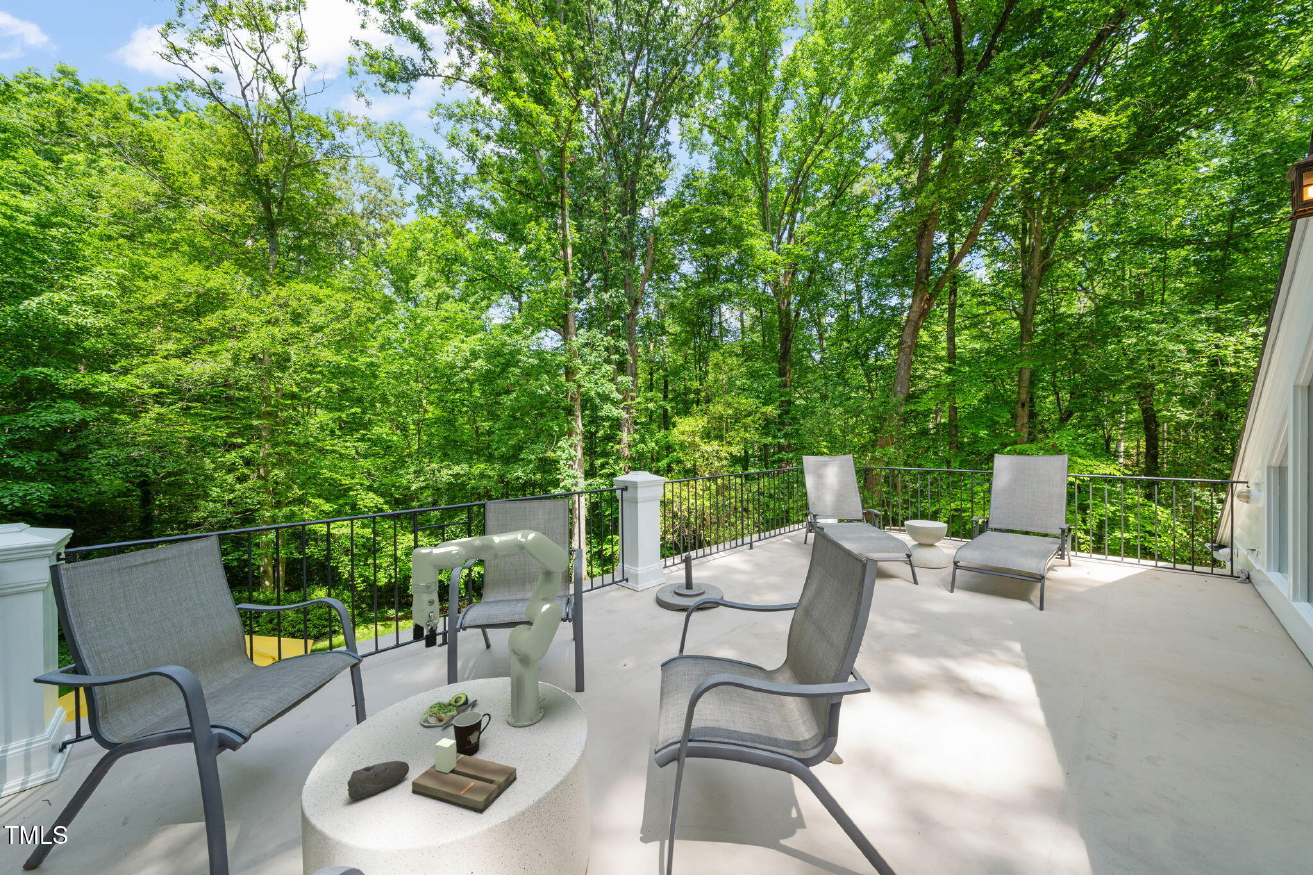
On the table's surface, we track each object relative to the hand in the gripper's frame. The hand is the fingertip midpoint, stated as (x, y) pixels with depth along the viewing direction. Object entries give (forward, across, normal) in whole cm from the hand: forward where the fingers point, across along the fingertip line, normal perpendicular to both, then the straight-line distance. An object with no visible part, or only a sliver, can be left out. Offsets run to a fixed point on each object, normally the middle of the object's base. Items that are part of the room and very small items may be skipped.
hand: (424, 642), depth 147 cm
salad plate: (+35, +20, -16) cm, 43 cm away
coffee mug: (+34, -8, -12) cm, 37 cm away
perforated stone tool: (+35, -6, +14) cm, 38 cm away
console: (+34, -23, -3) cm, 41 cm away
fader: (+33, -16, 0) cm, 36 cm away
